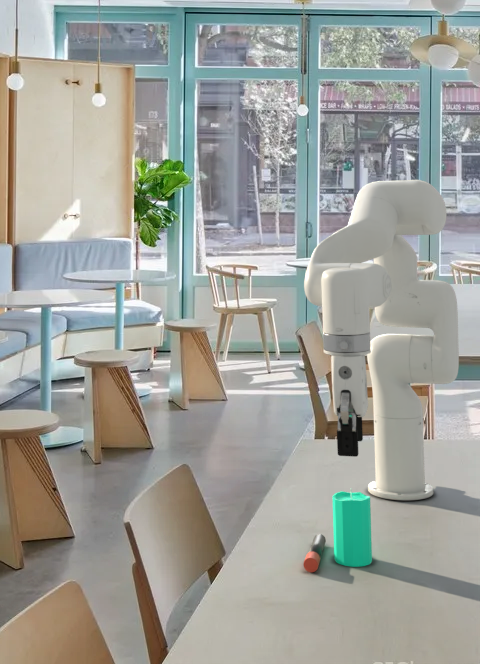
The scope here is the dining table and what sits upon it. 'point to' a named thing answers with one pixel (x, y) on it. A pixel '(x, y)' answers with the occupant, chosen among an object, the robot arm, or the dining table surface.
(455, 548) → the dining table surface
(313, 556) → the marker
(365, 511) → the candle
